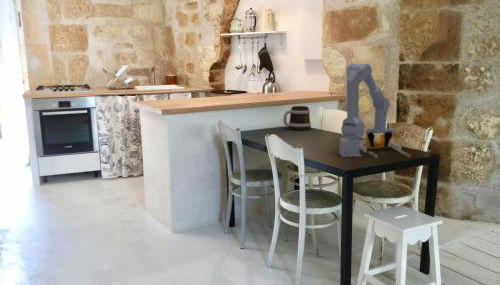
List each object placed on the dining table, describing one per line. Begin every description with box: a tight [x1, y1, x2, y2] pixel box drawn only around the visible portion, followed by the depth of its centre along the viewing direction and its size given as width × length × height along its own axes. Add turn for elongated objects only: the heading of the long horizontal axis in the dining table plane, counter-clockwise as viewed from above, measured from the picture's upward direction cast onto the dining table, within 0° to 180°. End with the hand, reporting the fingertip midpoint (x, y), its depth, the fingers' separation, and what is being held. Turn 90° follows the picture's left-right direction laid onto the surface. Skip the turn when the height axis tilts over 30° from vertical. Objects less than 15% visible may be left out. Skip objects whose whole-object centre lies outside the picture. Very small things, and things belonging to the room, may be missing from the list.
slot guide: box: [368, 150, 412, 159], centre depth 210 cm, size 17×10×1 cm, turn 94°
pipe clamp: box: [365, 133, 385, 150], centre depth 230 cm, size 12×4×6 cm, turn 117°
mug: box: [283, 105, 312, 132], centre depth 286 cm, size 20×15×15 cm
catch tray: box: [359, 138, 402, 153], centre depth 228 cm, size 19×21×2 cm
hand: (378, 146), depth 224 cm, fingers open, 7 cm apart
